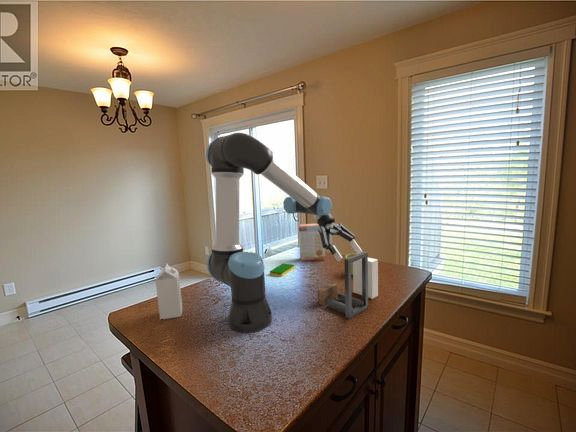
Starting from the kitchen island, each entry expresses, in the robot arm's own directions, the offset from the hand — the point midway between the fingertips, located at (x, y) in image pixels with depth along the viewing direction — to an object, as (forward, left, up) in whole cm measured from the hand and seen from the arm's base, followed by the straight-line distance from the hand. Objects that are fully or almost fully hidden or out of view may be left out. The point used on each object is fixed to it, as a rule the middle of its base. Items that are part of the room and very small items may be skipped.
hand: (350, 256), depth 119 cm
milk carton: (-64, +35, -15) cm, 74 cm away
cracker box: (+19, +41, -15) cm, 48 cm away
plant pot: (+16, +9, -15) cm, 24 cm away
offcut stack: (-16, 0, -14) cm, 21 cm away
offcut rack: (-16, -9, -14) cm, 23 cm away
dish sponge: (-6, +39, -15) cm, 42 cm away
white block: (-1, -8, -14) cm, 16 cm away
